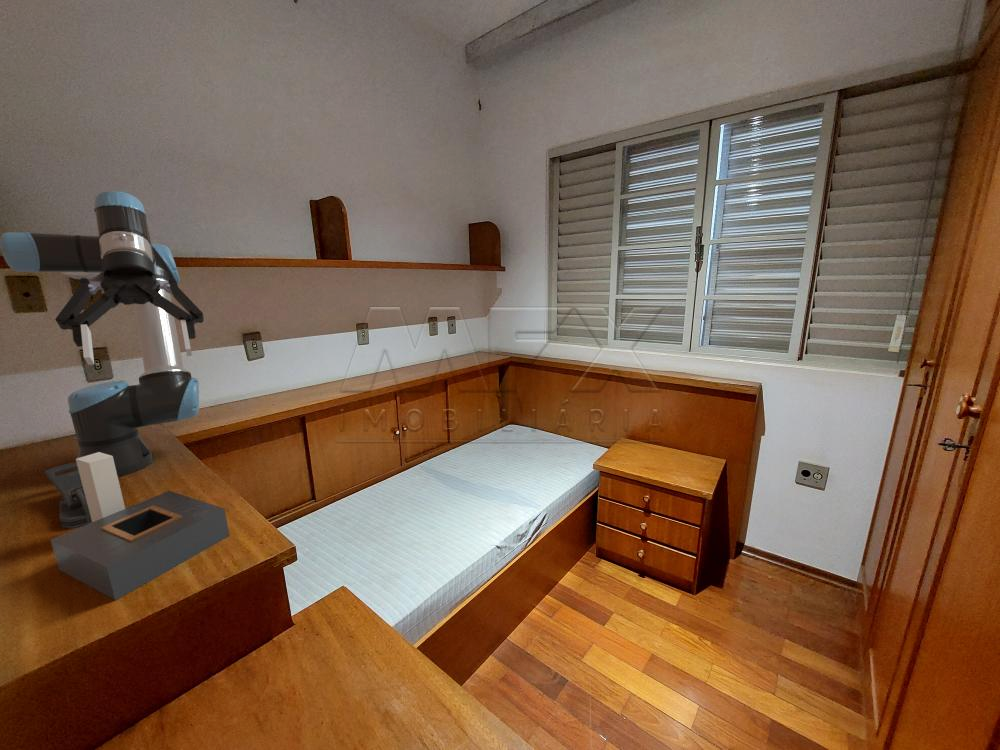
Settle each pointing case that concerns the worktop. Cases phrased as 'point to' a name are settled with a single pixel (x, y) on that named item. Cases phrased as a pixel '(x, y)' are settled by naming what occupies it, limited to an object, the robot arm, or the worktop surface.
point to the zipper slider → (70, 496)
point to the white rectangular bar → (100, 485)
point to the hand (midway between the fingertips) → (141, 356)
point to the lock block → (139, 542)
